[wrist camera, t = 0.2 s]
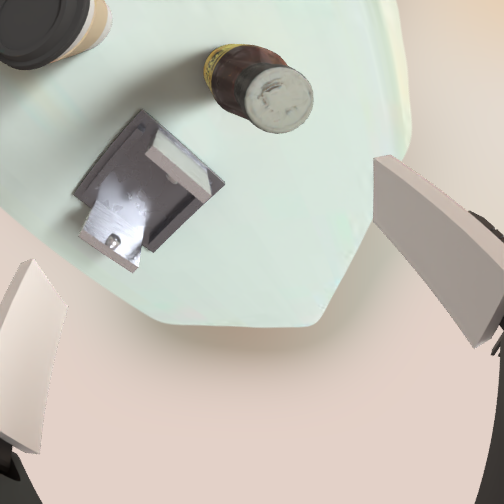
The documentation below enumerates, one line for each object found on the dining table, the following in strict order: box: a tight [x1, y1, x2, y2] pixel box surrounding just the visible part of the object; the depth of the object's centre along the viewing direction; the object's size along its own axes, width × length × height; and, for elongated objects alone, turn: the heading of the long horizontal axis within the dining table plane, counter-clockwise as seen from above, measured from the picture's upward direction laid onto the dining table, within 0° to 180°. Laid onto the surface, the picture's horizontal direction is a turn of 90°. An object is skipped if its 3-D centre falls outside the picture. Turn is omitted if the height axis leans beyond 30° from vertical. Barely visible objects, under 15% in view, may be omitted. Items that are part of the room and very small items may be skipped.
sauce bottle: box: [204, 44, 313, 134], centre depth 23 cm, size 6×6×20 cm
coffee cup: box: [0, 0, 113, 70], centre depth 17 cm, size 9×9×15 cm
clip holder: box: [73, 109, 225, 273], centre depth 34 cm, size 14×14×8 cm
